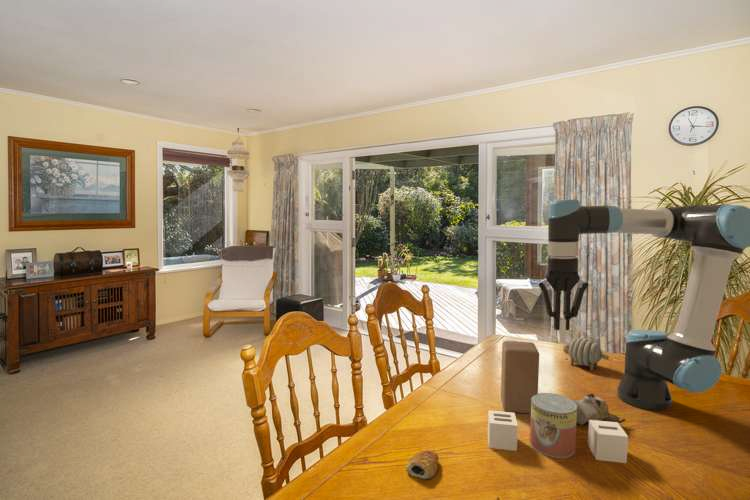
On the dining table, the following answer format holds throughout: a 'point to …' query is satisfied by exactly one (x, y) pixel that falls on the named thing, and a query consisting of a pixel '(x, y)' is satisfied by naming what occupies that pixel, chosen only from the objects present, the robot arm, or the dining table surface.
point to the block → (519, 375)
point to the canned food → (553, 425)
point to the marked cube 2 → (607, 441)
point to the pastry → (423, 464)
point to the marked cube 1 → (502, 430)
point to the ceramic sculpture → (594, 410)
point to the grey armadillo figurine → (584, 352)
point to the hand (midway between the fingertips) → (561, 341)
